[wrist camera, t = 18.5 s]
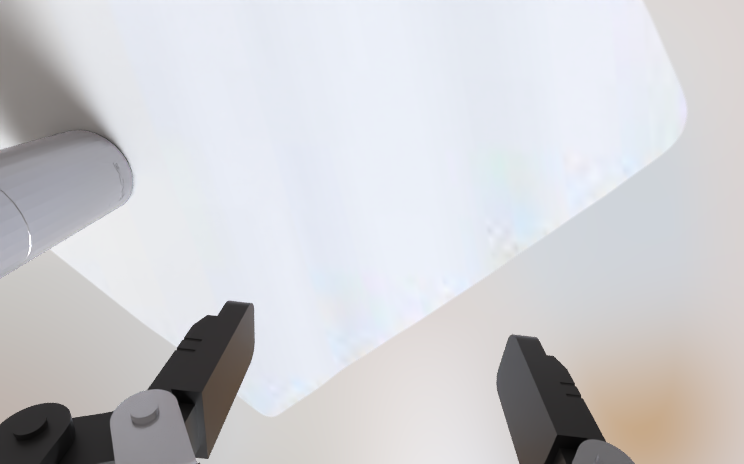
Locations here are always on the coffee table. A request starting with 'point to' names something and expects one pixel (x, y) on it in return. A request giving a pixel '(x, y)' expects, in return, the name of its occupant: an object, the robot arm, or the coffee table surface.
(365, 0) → the coffee table surface
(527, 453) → the robot arm
